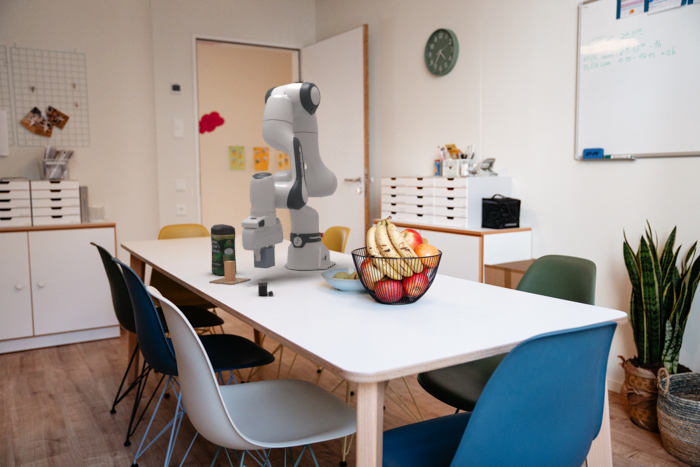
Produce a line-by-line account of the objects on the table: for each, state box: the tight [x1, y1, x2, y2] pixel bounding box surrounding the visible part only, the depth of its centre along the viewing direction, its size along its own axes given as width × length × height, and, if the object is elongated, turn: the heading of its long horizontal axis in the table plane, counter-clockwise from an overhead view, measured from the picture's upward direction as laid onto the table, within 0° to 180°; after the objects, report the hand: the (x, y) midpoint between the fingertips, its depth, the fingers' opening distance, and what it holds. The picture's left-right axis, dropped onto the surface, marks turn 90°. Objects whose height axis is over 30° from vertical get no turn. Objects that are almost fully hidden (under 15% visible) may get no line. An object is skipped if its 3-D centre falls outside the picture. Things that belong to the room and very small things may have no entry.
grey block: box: [253, 246, 276, 270], centre depth 201 cm, size 5×5×7 cm
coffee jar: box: [210, 223, 237, 276], centre depth 213 cm, size 10×8×19 cm
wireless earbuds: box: [257, 282, 274, 297], centre depth 176 cm, size 4×7×3 cm, turn 8°
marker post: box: [208, 261, 251, 286], centre depth 198 cm, size 10×10×7 cm
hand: (264, 259), depth 201 cm, fingers closed on grey block, 5 cm apart
